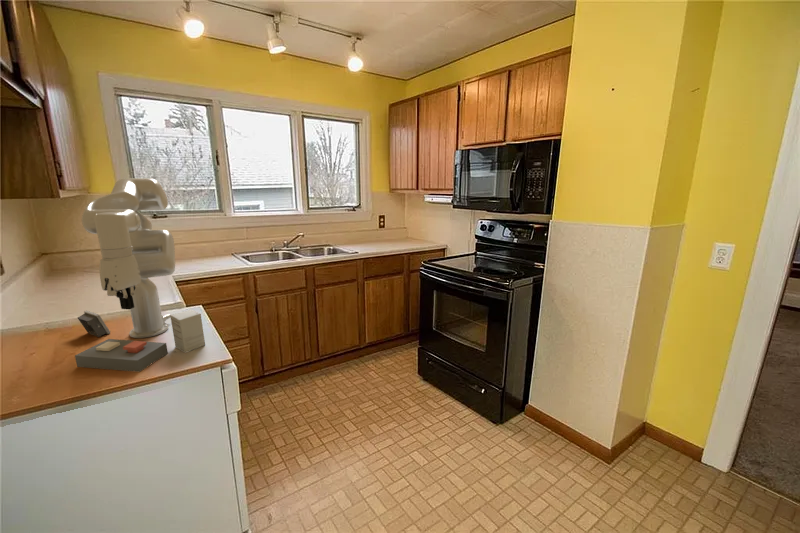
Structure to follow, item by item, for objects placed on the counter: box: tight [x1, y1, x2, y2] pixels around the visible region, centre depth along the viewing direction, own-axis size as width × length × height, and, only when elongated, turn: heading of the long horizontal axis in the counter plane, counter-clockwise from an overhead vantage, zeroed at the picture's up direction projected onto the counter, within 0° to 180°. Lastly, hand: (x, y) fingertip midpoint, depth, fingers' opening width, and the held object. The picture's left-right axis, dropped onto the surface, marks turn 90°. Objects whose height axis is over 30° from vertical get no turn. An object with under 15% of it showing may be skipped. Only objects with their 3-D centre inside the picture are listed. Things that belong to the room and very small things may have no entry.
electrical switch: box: [77, 310, 111, 338], centre depth 135 cm, size 9×5×9 cm, turn 65°
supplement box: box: [170, 308, 206, 353], centre depth 126 cm, size 7×7×13 cm
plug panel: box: [74, 338, 169, 373], centre depth 118 cm, size 12×22×4 cm, turn 84°
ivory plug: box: [96, 341, 120, 351], centre depth 118 cm, size 4×4×4 cm
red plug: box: [123, 340, 147, 353], centre depth 116 cm, size 4×4×4 cm
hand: (127, 308), depth 113 cm, fingers closed
